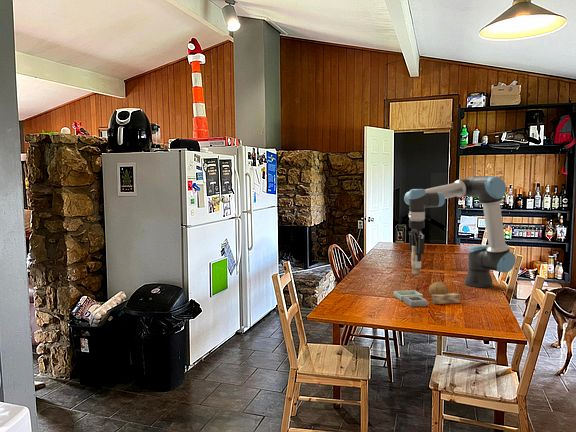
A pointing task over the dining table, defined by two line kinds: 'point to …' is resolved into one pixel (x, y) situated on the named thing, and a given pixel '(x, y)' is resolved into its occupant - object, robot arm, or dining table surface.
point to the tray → (406, 294)
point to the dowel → (414, 270)
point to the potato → (438, 288)
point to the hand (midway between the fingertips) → (416, 266)
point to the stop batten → (445, 298)
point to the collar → (415, 301)
